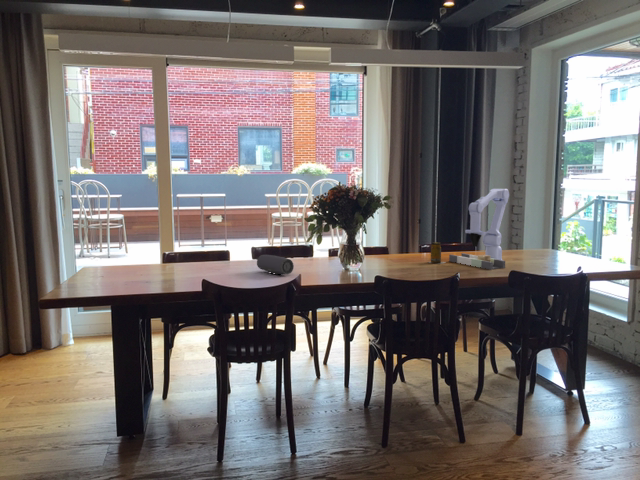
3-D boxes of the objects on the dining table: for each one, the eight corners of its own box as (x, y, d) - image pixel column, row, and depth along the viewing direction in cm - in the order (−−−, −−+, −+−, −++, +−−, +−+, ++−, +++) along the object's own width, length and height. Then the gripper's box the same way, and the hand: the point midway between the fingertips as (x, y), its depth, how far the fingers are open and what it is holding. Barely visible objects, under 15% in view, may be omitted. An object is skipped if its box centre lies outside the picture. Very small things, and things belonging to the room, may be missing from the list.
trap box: (463, 259, 333) (463, 253, 333) (505, 267, 303) (505, 260, 302) (449, 261, 328) (449, 254, 328) (490, 269, 298) (490, 262, 298)
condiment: (435, 261, 329) (435, 241, 328) (446, 262, 323) (446, 242, 321) (427, 262, 325) (427, 242, 323) (438, 264, 318) (438, 244, 317)
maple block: (484, 261, 313) (484, 254, 312) (490, 262, 308) (490, 255, 308) (477, 262, 311) (477, 255, 310) (483, 263, 306) (483, 256, 306)
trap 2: (493, 266, 308) (493, 265, 308) (502, 268, 302) (502, 267, 302) (483, 267, 305) (483, 266, 305) (492, 269, 299) (492, 268, 299)
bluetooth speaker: (294, 275, 290) (294, 257, 289) (281, 277, 284) (280, 259, 283) (269, 270, 307) (269, 252, 306) (256, 272, 301) (255, 254, 300)
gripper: (461, 222, 318) (461, 245, 320) (479, 224, 305) (478, 248, 307) (470, 222, 321) (470, 244, 323) (488, 223, 309) (488, 247, 310)
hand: (475, 246), depth 315 cm, fingers closed
